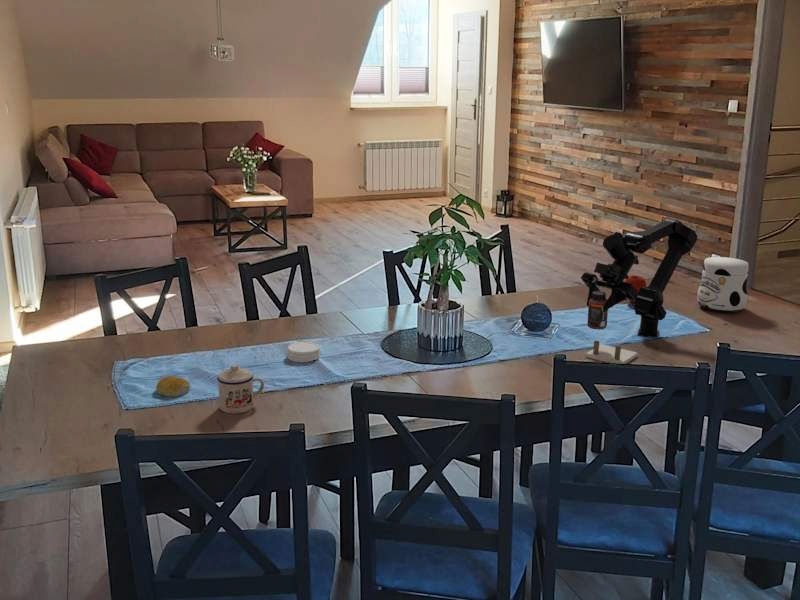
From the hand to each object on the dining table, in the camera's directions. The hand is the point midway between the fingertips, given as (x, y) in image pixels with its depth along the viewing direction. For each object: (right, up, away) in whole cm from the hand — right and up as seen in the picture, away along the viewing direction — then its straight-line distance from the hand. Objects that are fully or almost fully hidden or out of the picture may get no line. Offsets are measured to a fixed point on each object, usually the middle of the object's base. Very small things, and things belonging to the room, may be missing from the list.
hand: (595, 307), depth 250 cm
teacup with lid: (-102, -26, -39) cm, 112 cm away
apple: (+28, +1, +56) cm, 62 cm away
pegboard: (+5, -15, -1) cm, 16 cm away
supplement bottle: (+1, -6, +3) cm, 7 cm away
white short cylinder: (-90, -15, -4) cm, 92 cm away
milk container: (+59, -1, +50) cm, 77 cm away
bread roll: (-123, -23, -30) cm, 128 cm away
